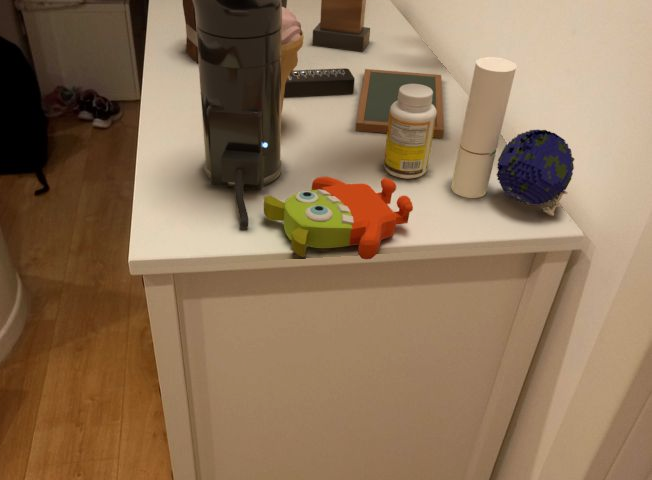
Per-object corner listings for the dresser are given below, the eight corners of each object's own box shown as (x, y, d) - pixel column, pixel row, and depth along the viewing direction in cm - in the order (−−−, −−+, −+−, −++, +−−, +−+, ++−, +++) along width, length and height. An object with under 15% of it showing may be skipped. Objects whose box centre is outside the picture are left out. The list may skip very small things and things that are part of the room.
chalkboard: (442, 138, 94) (444, 129, 93) (355, 130, 95) (356, 122, 94) (440, 82, 109) (441, 74, 108) (364, 76, 110) (365, 68, 109)
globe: (527, 212, 84) (557, 155, 84) (565, 217, 77) (599, 154, 76) (477, 181, 82) (508, 122, 81) (511, 183, 75) (546, 118, 74)
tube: (463, 200, 82) (491, 73, 72) (444, 183, 85) (468, 59, 75) (493, 194, 83) (524, 68, 73) (473, 177, 86) (500, 55, 76)
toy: (435, 221, 71) (300, 243, 67) (429, 254, 74) (298, 277, 69) (375, 158, 81) (254, 173, 77) (371, 189, 84) (254, 205, 80)
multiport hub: (354, 94, 104) (355, 78, 103) (282, 97, 103) (283, 81, 101) (347, 82, 108) (348, 67, 106) (278, 85, 106) (278, 70, 104)
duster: (362, 52, 118) (368, -12, 111) (312, 45, 119) (314, -18, 113) (369, 42, 121) (374, -20, 114) (320, 36, 123) (322, -26, 116)
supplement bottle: (402, 155, 90) (413, 76, 83) (435, 171, 87) (450, 91, 80) (373, 168, 87) (382, 88, 80) (407, 185, 84) (419, 103, 77)
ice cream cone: (312, 117, 98) (318, -40, 84) (282, 150, 90) (284, -18, 77) (242, 104, 100) (237, -51, 87) (207, 134, 93) (196, -30, 79)
